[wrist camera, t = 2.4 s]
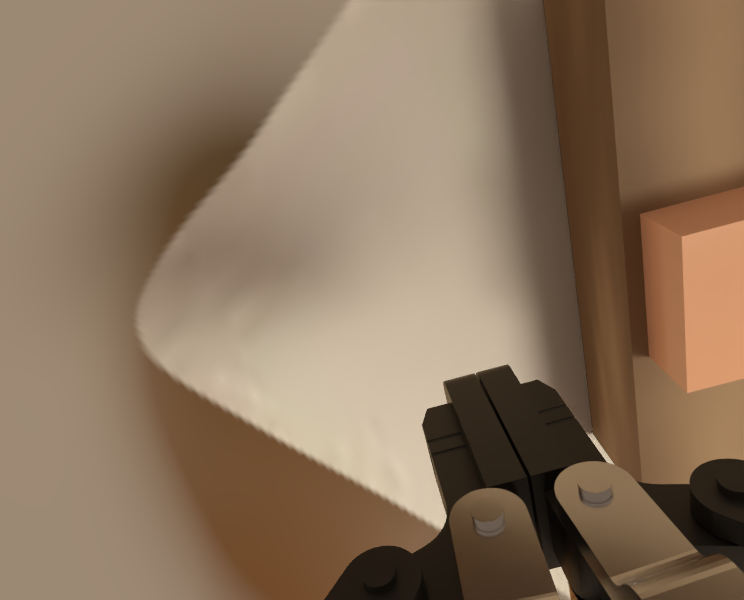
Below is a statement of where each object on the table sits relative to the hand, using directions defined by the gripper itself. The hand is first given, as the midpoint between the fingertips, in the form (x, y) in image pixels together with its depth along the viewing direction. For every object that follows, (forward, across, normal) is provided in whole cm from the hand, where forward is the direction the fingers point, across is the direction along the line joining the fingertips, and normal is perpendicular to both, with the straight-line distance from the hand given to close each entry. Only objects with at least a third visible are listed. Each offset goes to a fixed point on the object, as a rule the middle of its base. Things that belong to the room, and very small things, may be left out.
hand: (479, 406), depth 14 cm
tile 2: (+4, -8, 0) cm, 9 cm away
